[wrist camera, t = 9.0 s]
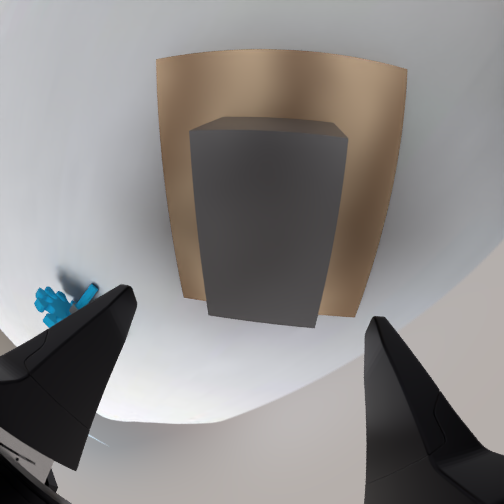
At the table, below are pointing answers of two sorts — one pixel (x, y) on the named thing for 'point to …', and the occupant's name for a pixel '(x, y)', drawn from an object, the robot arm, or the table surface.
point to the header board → (293, 107)
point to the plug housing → (266, 214)
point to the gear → (60, 304)
